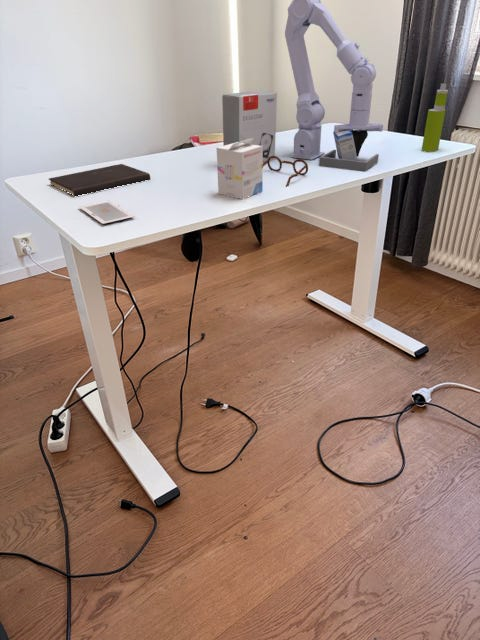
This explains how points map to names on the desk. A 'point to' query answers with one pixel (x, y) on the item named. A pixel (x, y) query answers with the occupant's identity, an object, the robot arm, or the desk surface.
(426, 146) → the vape
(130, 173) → the hardcover book
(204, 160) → the desk surface
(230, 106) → the hard drive box
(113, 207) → the touchpad
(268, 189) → the desk surface
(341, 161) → the box
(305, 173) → the glasses
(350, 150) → the medicine box
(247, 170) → the ink box
